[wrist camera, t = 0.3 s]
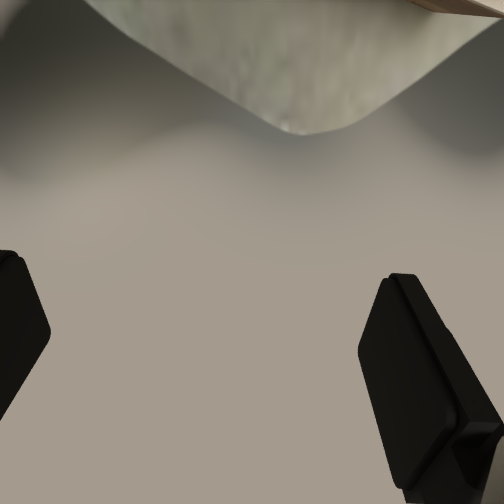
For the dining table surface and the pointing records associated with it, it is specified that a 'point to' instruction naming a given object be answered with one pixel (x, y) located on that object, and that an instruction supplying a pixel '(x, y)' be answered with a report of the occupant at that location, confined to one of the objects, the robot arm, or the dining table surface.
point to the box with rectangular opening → (464, 7)
